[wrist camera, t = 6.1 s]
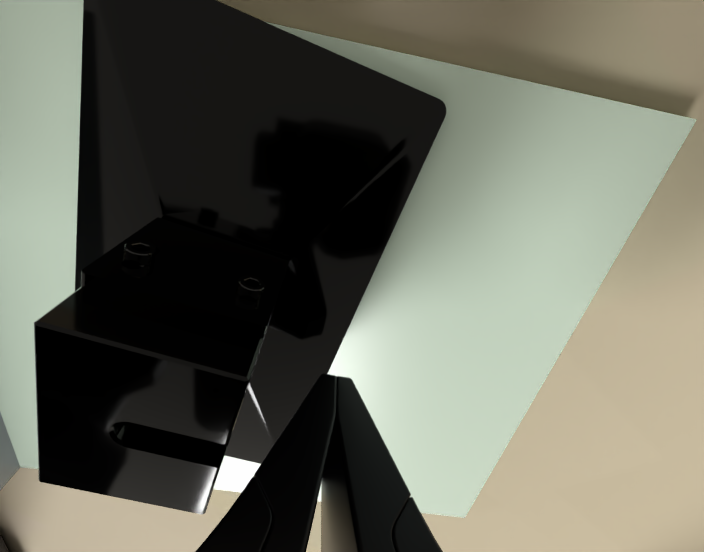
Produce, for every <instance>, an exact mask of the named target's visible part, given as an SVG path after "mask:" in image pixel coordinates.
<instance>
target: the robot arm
mask: <svg viewBox="0 0 704 552" xmlns="http://www.w3.org/2000/svg"><path fill="white" fill-rule="evenodd" d="M320 487H321V552H443V551H442V550H441V548H440V546H439V545H438V543H437V541H436V540H435V538H434V536H433V535H432V533H431V531H430V529H429V527H428V525H427V524H426V522H425V520H424V518H423V516H422V514H421V512H420V511H419V509H418V507H417V505H416V503H415V501H414V499H413V497H410V496H411V493H410V491H409V489H408V487H407V485H406V483H405V481H404V479H403V478H402V476H401V474H400V472H399V470H398V468H397V466H396V464H395V462H394V460H393V458H392V456H391V454H390V452H389V450H388V448H387V446H386V444H385V442H384V440H383V439H382V437H381V435H380V433H379V431H378V429H377V427H376V425H375V423H374V421H373V419H372V417H371V415H370V413H369V411H368V409H367V407H366V405H365V403H364V402H363V400H362V398H361V396H360V394H359V392H358V390H357V388H356V386H355V384H354V382H353V380H352V379H351V378H349V377H343V376H335V375H330V374H321V375H320V376H319V378H318V379H317V381H316V382H315V384H314V385H313V387H312V388H311V390H310V391H309V393H308V394H307V396H306V397H305V399H304V400H303V402H302V403H301V405H300V406H299V408H298V409H297V411H296V412H295V414H294V415H293V417H292V418H291V420H290V421H289V423H288V424H287V426H286V427H285V429H284V430H283V432H282V433H281V435H280V436H279V438H278V439H277V441H276V442H275V444H274V445H273V447H272V448H271V450H270V451H269V453H268V454H267V456H266V457H265V459H264V460H263V462H262V463H261V465H260V466H259V468H258V469H257V471H256V472H255V474H254V477H252V478H251V480H250V481H249V483H248V484H247V486H246V487H245V488H244V490H243V491H242V493H241V494H240V496H239V497H238V498H237V500H236V501H235V503H234V504H233V505H232V507H231V508H230V510H229V511H228V512H227V514H226V515H225V516H224V518H223V519H222V520H221V521H220V523H219V524H218V525H217V526H216V528H215V529H214V530H213V531H212V533H211V534H210V535H209V536H208V538H207V539H206V540H205V541H204V542H203V543H202V545H201V546H200V547H199V548H198V549H197V550H196V552H306V549H307V544H308V540H309V536H310V531H311V527H312V522H313V518H314V513H315V509H316V504H317V500H318V496H319V491H320ZM0 552H8V550H7V547H6V545H5V543H4V541H3V539H2V537H1V536H0Z"/></svg>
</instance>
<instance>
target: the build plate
mask: <svg viewBox="0 0 704 552" xmlns="http://www.w3.org/2000/svg"><path fill="white" fill-rule="evenodd" d="M445 116H446V106H445V104H444V102H443V101H442V100H440V99H438V98H436V97H434V96H432V95H429V94H427V93H425V92H423V91H420V90H418V89H416V88H413V87H411V86H409V85H407V84H404V83H402V82H400V81H398V80H395V79H393V78H391V77H389V76H386V75H384V74H382V73H379V72H377V71H375V70H373V69H370V68H368V67H366V66H364V65H361V64H359V63H357V62H354V61H352V60H350V59H348V58H345V57H343V56H341V55H339V54H336V53H334V52H332V51H329V50H327V49H325V48H323V47H320V46H318V45H316V44H314V43H311V42H309V41H307V40H305V39H302V38H300V37H298V36H295V35H293V34H291V33H289V32H286V31H284V30H282V29H280V28H277V27H275V26H273V25H270V24H268V23H266V22H264V21H261V20H259V19H257V18H255V17H252V16H250V15H248V14H246V13H243V12H241V11H239V10H236V9H234V8H232V7H230V6H227V5H225V4H223V3H221V2H218V1H216V0H84V2H83V35H82V69H81V102H80V135H79V168H78V202H77V235H76V268H75V292H73V293H72V294H71V295H70V296H68V297H67V298H66V299H64V300H63V301H62V302H60V303H59V304H58V305H56V306H55V307H54V308H52V309H51V310H50V311H48V312H47V313H46V314H44V315H43V316H42V317H40V318H39V319H38V320H36V321H35V322H34V340H35V372H36V403H37V435H38V467H39V481H40V482H44V483H49V484H54V485H59V486H64V487H69V488H74V489H79V490H84V491H89V492H94V493H99V494H104V495H108V496H113V497H118V498H123V499H128V500H133V501H138V502H143V503H148V504H153V505H158V506H163V507H168V508H173V509H178V510H183V511H188V512H193V513H197V514H204V513H205V512H206V509H207V506H208V503H209V500H210V497H211V494H212V491H213V488H214V485H215V482H216V479H217V476H218V474H219V471H220V468H221V465H222V462H223V459H224V456H229V457H233V458H237V459H242V460H246V461H250V462H255V463H259V464H261V463H262V462H263V460H264V459H265V457H266V456H267V454H268V453H269V451H270V450H271V448H272V447H273V445H274V444H275V442H276V441H277V439H278V438H279V436H280V435H281V433H282V432H283V430H284V429H285V427H286V426H287V424H288V423H289V421H290V420H291V418H292V417H293V415H294V414H295V412H296V411H297V409H298V408H299V406H300V405H301V403H302V402H303V400H304V399H305V397H306V396H307V394H308V393H309V391H310V390H311V388H312V387H313V385H314V384H315V382H316V381H317V379H318V378H319V376H320V375H321V374H328V372H329V369H330V367H331V365H332V363H333V361H334V358H335V356H336V354H337V352H338V350H339V348H340V345H341V343H342V341H343V339H344V337H345V335H346V332H347V330H348V328H349V326H350V324H351V321H352V319H353V317H354V315H355V313H356V311H357V308H358V306H359V304H360V302H361V300H362V297H363V295H364V293H365V291H366V289H367V287H368V284H369V282H370V280H371V278H372V276H373V273H374V271H375V269H376V267H377V265H378V263H379V260H380V258H381V256H382V254H383V252H384V249H385V247H386V245H387V243H388V241H389V239H390V236H391V234H392V232H393V230H394V228H395V225H396V223H397V221H398V219H399V217H400V215H401V212H402V210H403V208H404V206H405V204H406V201H407V199H408V197H409V195H410V193H411V191H412V188H413V186H414V184H415V182H416V180H417V177H418V175H419V173H420V171H421V169H422V167H423V164H424V162H425V160H426V158H427V156H428V153H429V151H430V149H431V147H432V145H433V143H434V140H435V138H436V136H437V134H438V132H439V129H440V127H441V125H442V123H443V121H444V119H445Z"/></svg>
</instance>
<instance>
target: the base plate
mask: <svg viewBox="0 0 704 552" xmlns="http://www.w3.org/2000/svg"><path fill="white" fill-rule="evenodd" d="M83 2H84V0H0V490H1V489H2V488H3V487H4V485H5V484H6V483H7V482H8V481H9V480H10V478H11V477H12V476H13V475H14V474H15V473H16V472H17V470H18V469H19V468H20V467H24V468H33V469H39V467H38V435H37V403H36V372H35V340H34V322H35V321H36V320H38V319H39V318H40V317H42V316H43V315H44V314H46V313H47V312H48V311H50V310H51V309H52V308H54V307H55V306H56V305H58V304H59V303H60V302H62V301H63V300H64V299H66V298H67V297H68V296H70V295H71V294H72V293H73V292H75V268H76V235H77V202H78V168H79V135H80V102H81V69H82V35H83ZM266 23H268V24H270V25H273V26H275V27H277V28H280V29H282V30H284V31H286V32H289V33H291V34H293V35H295V36H298V37H300V38H302V39H305V40H307V41H309V42H311V43H314V44H316V45H318V46H320V47H323V48H325V49H327V50H329V51H332V52H334V53H336V54H339V55H341V56H343V57H345V58H348V59H350V60H352V61H354V62H357V63H359V64H361V65H364V66H366V67H368V68H370V69H373V70H375V71H377V72H379V73H382V74H384V75H386V76H389V77H391V78H393V79H395V80H398V81H400V82H402V83H404V84H407V85H409V86H411V87H413V88H416V89H418V90H420V91H423V92H425V93H427V94H429V95H432V96H434V97H436V98H438V99H440V100H442V101H443V102H444V104H445V106H446V116H445V119H444V121H443V123H442V125H441V127H440V129H439V132H438V134H437V136H436V138H435V140H434V143H433V145H432V147H431V149H430V151H429V153H428V156H427V158H426V160H425V162H424V164H423V167H422V169H421V171H420V173H419V175H418V177H417V180H416V182H415V184H414V186H413V188H412V191H411V193H410V195H409V197H408V199H407V201H406V204H405V206H404V208H403V210H402V212H401V215H400V217H399V219H398V221H397V223H396V225H395V228H394V230H393V232H392V234H391V236H390V239H389V241H388V243H387V245H386V247H385V249H384V252H383V254H382V256H381V258H380V260H379V263H378V265H377V267H376V269H375V271H374V273H373V276H372V278H371V280H370V282H369V284H368V287H367V289H366V291H365V293H364V295H363V297H362V300H361V302H360V304H359V306H358V308H357V311H356V313H355V315H354V317H353V319H352V321H351V324H350V326H349V328H348V330H347V332H346V335H345V337H344V339H343V341H342V343H341V345H340V348H339V350H338V352H337V354H336V356H335V358H334V361H333V363H332V365H331V367H330V369H329V372H328V374H330V375H335V376H343V377H349V378H351V379H352V380H353V382H354V384H355V386H356V388H357V390H358V392H359V394H360V396H361V398H362V400H363V402H364V403H365V405H366V407H367V409H368V411H369V413H370V415H371V417H372V419H373V421H374V423H375V425H376V427H377V429H378V431H379V433H380V435H381V437H382V439H383V440H384V442H385V444H386V446H387V448H388V450H389V452H390V454H391V456H392V458H393V460H394V462H395V464H396V466H397V468H398V470H399V472H400V474H401V476H402V478H403V479H404V481H405V483H406V485H407V487H408V489H409V491H410V493H411V496H410V497H413V499H414V501H415V503H416V505H417V507H418V509H419V511H420V512H421V513H427V514H436V515H445V516H453V517H462V518H465V517H466V515H467V513H468V511H469V510H470V508H471V506H472V505H473V503H474V501H475V499H476V498H477V496H478V494H479V493H480V491H481V489H482V487H483V486H484V484H485V482H486V481H487V479H488V477H489V475H490V474H491V472H492V470H493V469H494V467H495V465H496V463H497V462H498V460H499V458H500V457H501V455H502V453H503V451H504V450H505V448H506V446H507V445H508V443H509V441H510V439H511V438H512V436H513V434H514V432H515V431H516V429H517V427H518V426H519V424H520V422H521V420H522V419H523V417H524V415H525V414H526V412H527V410H528V408H529V407H530V405H531V403H532V402H533V400H534V398H535V396H536V395H537V393H538V391H539V390H540V388H541V386H542V384H543V383H544V381H545V379H546V378H547V376H548V374H549V372H550V371H551V369H552V367H553V366H554V364H555V362H556V360H557V359H558V357H559V355H560V354H561V352H562V350H563V348H564V347H565V345H566V343H567V342H568V340H569V338H570V336H571V335H572V333H573V331H574V329H575V328H576V326H577V324H578V323H579V321H580V319H581V317H582V316H583V314H584V312H585V311H586V309H587V307H588V305H589V304H590V302H591V300H592V299H593V297H594V295H595V293H596V292H597V290H598V288H599V287H600V285H601V283H602V281H603V280H604V278H605V276H606V275H607V273H608V271H609V269H610V268H611V266H612V264H613V263H614V261H615V259H616V257H617V256H618V254H619V252H620V251H621V249H622V247H623V245H624V244H625V242H626V240H627V239H628V237H629V235H630V233H631V232H632V230H633V228H634V227H635V225H636V223H637V221H638V220H639V218H640V216H641V214H642V213H643V211H644V209H645V208H646V206H647V204H648V202H649V201H650V199H651V197H652V196H653V194H654V192H655V190H656V189H657V187H658V185H659V184H660V182H661V180H662V178H663V177H664V175H665V173H666V172H667V170H668V168H669V166H670V165H671V163H672V161H673V160H674V158H675V156H676V154H677V153H678V151H679V149H680V148H681V146H682V144H683V142H684V141H685V139H686V137H687V136H688V134H689V132H690V130H691V129H692V127H693V125H694V124H695V122H696V120H697V119H693V118H688V117H684V116H679V115H675V114H671V113H666V112H662V111H657V110H653V109H649V108H644V107H640V106H635V105H631V104H626V103H622V102H618V101H613V100H609V99H604V98H600V97H596V96H591V95H587V94H582V93H578V92H573V91H569V90H565V89H560V88H556V87H551V86H547V85H543V84H538V83H534V82H529V81H525V80H520V79H516V78H512V77H507V76H503V75H498V74H494V73H490V72H485V71H481V70H476V69H472V68H467V67H463V66H459V65H454V64H450V63H445V62H441V61H437V60H432V59H428V58H423V57H419V56H414V55H410V54H406V53H401V52H397V51H392V50H388V49H384V48H379V47H375V46H370V45H366V44H361V43H357V42H353V41H348V40H344V39H339V38H335V37H331V36H326V35H322V34H317V33H313V32H308V31H304V30H300V29H295V28H291V27H286V26H282V25H278V24H273V23H269V22H266ZM260 465H261V464H259V463H255V462H250V461H246V460H242V459H237V458H233V457H229V456H224V459H223V462H222V465H221V468H220V471H219V474H218V476H217V479H216V482H215V485H214V488H213V489H217V490H225V491H234V492H242V491H243V490H244V488H245V487H246V486H247V484H248V483H249V481H250V480H251V478H252V477H254V474H255V472H256V471H257V469H258V468H259V466H260ZM317 501H321V487H320V491H319V496H318V500H317Z"/></svg>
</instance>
